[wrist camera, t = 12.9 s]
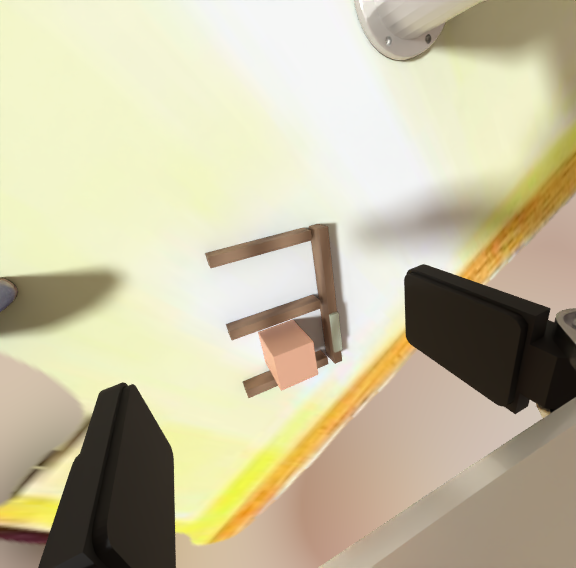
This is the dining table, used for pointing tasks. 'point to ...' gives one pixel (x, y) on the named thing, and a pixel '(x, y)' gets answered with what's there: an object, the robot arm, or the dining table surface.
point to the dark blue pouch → (7, 293)
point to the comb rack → (293, 309)
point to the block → (288, 354)
